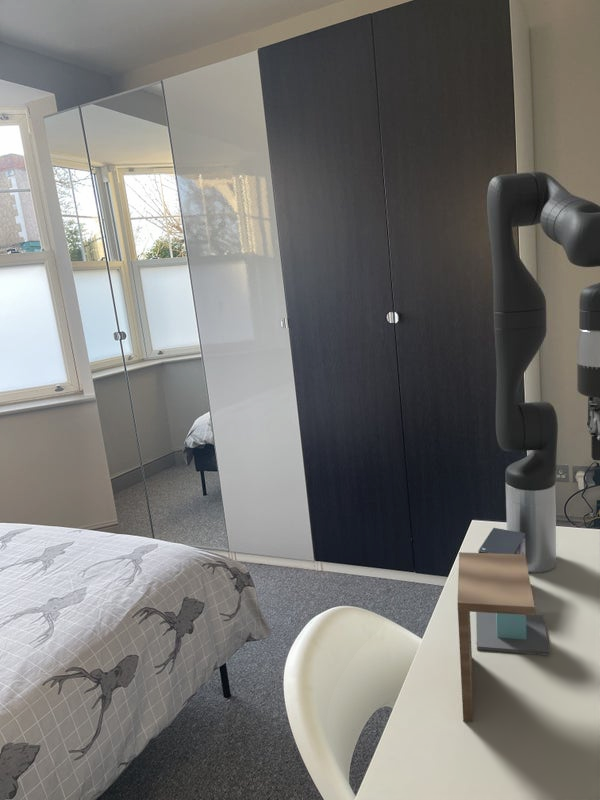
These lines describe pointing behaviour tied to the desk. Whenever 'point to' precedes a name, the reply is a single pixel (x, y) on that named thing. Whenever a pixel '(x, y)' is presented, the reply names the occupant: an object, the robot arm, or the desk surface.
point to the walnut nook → (488, 601)
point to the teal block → (511, 626)
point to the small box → (504, 542)
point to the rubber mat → (530, 645)
